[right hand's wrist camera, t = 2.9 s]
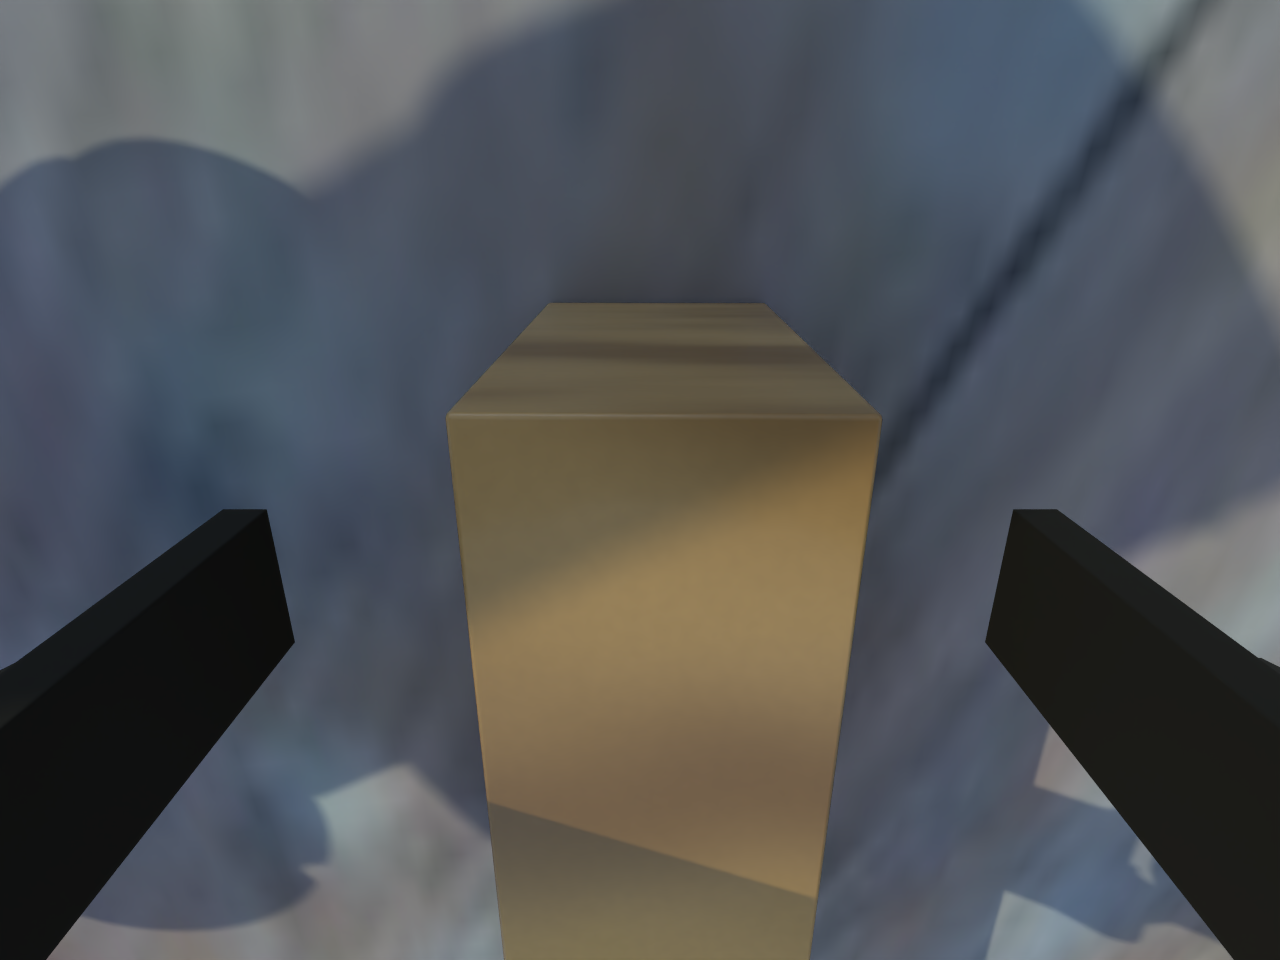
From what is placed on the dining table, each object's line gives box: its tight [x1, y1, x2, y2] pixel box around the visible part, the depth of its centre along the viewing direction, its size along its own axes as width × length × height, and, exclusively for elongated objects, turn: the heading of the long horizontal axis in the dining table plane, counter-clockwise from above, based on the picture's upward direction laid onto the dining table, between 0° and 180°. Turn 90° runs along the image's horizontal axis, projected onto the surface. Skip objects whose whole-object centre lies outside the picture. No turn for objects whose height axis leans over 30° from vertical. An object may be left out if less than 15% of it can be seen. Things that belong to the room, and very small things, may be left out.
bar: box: [446, 303, 882, 960], centre depth 16 cm, size 22×5×9 cm, turn 0°
